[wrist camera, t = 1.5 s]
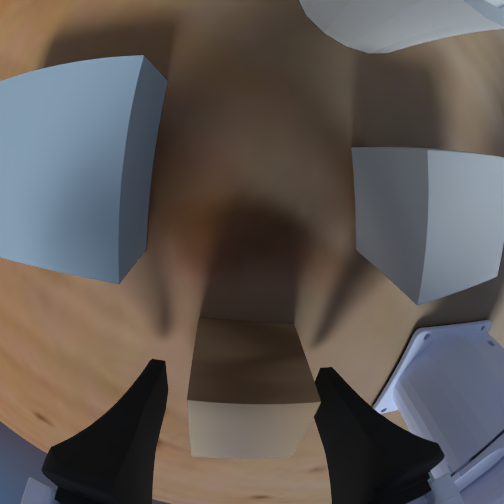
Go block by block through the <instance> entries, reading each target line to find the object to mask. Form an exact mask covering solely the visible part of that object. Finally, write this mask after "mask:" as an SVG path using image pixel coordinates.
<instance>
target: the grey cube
mask: <svg viewBox="0 0 504 504" xmlns="http://www.w3.org/2000/svg"><path fill="white" fill-rule="evenodd" d="M351 150H352V162H353V174H354V191H355V215H356V250H357V251H358V252H359V253H360V254H361V255H362V256H364V257H365V258H366V259H367V260H368V261H369V262H371V263H372V264H373V265H374V266H375V267H376V268H377V269H378V270H380V271H381V272H382V273H383V274H384V275H385V276H386V277H387V278H389V279H390V280H391V281H392V282H393V283H394V284H395V285H396V286H397V287H398V288H399V289H400V290H402V291H403V292H404V293H405V294H406V295H407V296H408V297H409V298H410V299H411V300H412V301H413V302H414V303H415V304H416V305H417V306H418V305H421V304H424V303H427V302H430V301H433V300H436V299H439V298H442V297H445V296H448V295H451V294H454V293H456V292H459V291H462V290H465V289H467V288H470V287H473V286H475V285H478V284H480V283H483V282H485V281H488V280H490V279H492V278H495V277H497V275H498V270H499V265H500V261H501V255H502V250H503V244H504V157H499V156H493V155H487V154H480V153H473V152H465V151H456V150H445V149H434V148H413V147H351Z"/></svg>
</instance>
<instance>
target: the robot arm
mask: <svg viewBox="0 0 504 504" xmlns="http://www.w3.org/2000/svg"><path fill="white" fill-rule="evenodd" d="M491 325H492V322H491V321H490V320H484V321H477V322H470V323H462V324H454V325H445V326H436V327H425V328H419V329H418V330H416V331H415V332H414V334H413V336H412V338H411V340H410V342H409V344H408V346H407V348H406V350H405V352H404V354H403V356H402V358H401V360H400V362H399V364H398V366H397V367H396V369H395V371H394V373H393V375H392V376H391V378H390V380H389V381H388V383H387V385H386V387H385V388H384V390H383V392H382V393H381V395H380V396H379V398H378V400H377V401H376V403H375V404H374V406H373V407H371V406H370V405H369V404H368V403H366V402H365V401H364V400H363V399H362V398H361V397H360V396H359V395H358V394H357V393H356V392H355V391H354V390H353V389H352V388H351V387H350V386H349V385H348V384H347V383H346V382H345V381H344V380H343V378H342V377H341V376H340V375H339V374H338V373H337V372H336V371H335V370H334V369H333V368H332V367H328V368H320V370H319V373H318V375H317V378H316V380H315V385H316V388H317V391H318V394H319V397H320V400H321V403H320V405H319V407H318V409H317V411H316V413H315V415H314V419H315V422H316V425H317V428H318V431H319V434H320V437H321V440H322V443H323V446H324V450H325V454H326V459H327V464H328V470H329V477H330V485H331V495H332V504H504V348H503V347H502V346H501V345H500V344H499V343H498V342H497V341H496V340H495V339H494V338H493V337H491V336H490V335H489V334H488V331H489V330H490V328H491ZM167 395H168V383H167V374H166V364H165V361H162V360H155V359H152V360H150V361H149V363H148V365H147V366H146V367H145V369H144V370H143V372H142V373H141V374H140V376H139V377H138V378H137V380H136V381H135V382H134V384H133V385H132V386H131V387H130V388H129V390H128V391H127V392H126V393H125V394H124V395H123V396H122V397H121V399H120V400H119V401H118V402H117V403H116V404H115V405H114V406H113V407H112V408H111V409H110V410H109V411H107V412H106V413H105V414H104V415H103V416H102V417H100V418H99V419H98V420H97V421H95V422H94V423H93V424H92V425H90V426H89V427H87V428H86V429H84V430H83V431H81V432H79V433H78V434H76V435H75V436H73V437H71V438H69V439H67V440H65V441H63V442H61V443H59V444H57V445H55V446H52V447H51V448H50V450H49V452H48V454H47V456H46V458H45V461H44V464H43V467H42V472H43V474H44V475H45V476H46V477H47V478H48V479H50V480H51V481H52V482H53V483H54V484H56V485H57V486H58V489H57V491H55V490H54V489H52V488H50V487H48V486H46V485H44V484H42V483H40V482H38V481H36V480H34V479H33V478H31V477H30V478H29V479H28V482H27V485H26V488H25V491H24V494H23V497H22V501H21V504H152V485H153V471H154V460H155V452H156V446H157V442H158V438H159V433H160V429H161V425H162V421H163V417H164V413H165V409H166V403H167ZM395 410H399V411H400V413H401V415H402V417H403V419H404V420H405V422H406V424H407V426H408V428H409V430H410V432H411V433H410V432H408V431H406V430H404V429H402V428H401V427H399V426H397V425H396V424H394V423H392V422H391V421H389V420H388V419H386V418H385V417H384V416H382V415H381V414H382V413H387V412H391V411H395ZM430 471H431V472H432V474H433V476H434V478H435V480H434V481H432V482H430V483H428V481H427V480H428V479H429V478H430V476H429V474H428V472H430Z"/></svg>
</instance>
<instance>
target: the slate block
mask: <svg viewBox="0 0 504 504" xmlns="http://www.w3.org/2000/svg"><path fill="white" fill-rule="evenodd" d="M167 83H168V81H167V80H166V79H165V78H164V76H163V75H162V74H161V73H160V72H159V71H158V70H157V69H156V68H155V67H154V65H153V64H152V63H151V62H150V61H149V60H148V59H147V58H146V57H145V56H144V55H136V56H120V57H108V58H99V59H91V60H84V61H78V62H72V63H66V64H61V65H56V66H52V67H47V68H43V69H39V70H35V71H32V72H28V73H24V74H21V75H18V76H15V77H12V78H9V79H6V80H3V81H0V257H1V258H5V259H8V260H12V261H16V262H20V263H24V264H28V265H32V266H36V267H40V268H44V269H49V270H53V271H57V272H62V273H66V274H71V275H75V276H80V277H85V278H90V279H95V280H100V281H105V282H110V283H116V284H120V282H121V281H122V280H123V278H124V277H125V276H126V275H127V273H128V272H129V271H130V269H131V268H132V267H133V266H134V264H135V263H136V262H137V260H138V259H139V258H140V257H141V256H142V254H143V253H144V252H145V251H146V241H147V223H148V209H149V198H150V187H151V178H152V170H153V162H154V154H155V147H156V141H157V134H158V128H159V123H160V117H161V112H162V107H163V102H164V97H165V92H166V87H167Z"/></svg>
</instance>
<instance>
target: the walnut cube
mask: <svg viewBox="0 0 504 504" xmlns="http://www.w3.org/2000/svg"><path fill="white" fill-rule="evenodd" d="M320 403H321V400H320V397H319V394H318V391H317V388H316V385H315V382H314V380H313V377H312V374H311V371H310V368H309V365H308V362H307V359H306V356H305V354H304V351H303V348H302V345H301V342H300V339H299V336H298V334H297V331H296V328H295V325H294V323H270V322H252V321H237V320H224V319H212V318H202V317H199V321H198V327H197V333H196V340H195V346H194V353H193V360H192V367H191V374H190V381H189V389H188V396H187V408H188V422H189V434H190V445H191V455H192V456H197V457H210V458H230V459H263V458H283V457H292V455H293V454H294V452H295V450H296V449H297V447H298V445H299V443H300V441H301V440H302V438H303V436H304V434H305V432H306V431H307V429H308V427H309V425H310V423H311V421H312V419H313V417H314V415H315V413H316V411H317V409H318V407H319V405H320Z"/></svg>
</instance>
